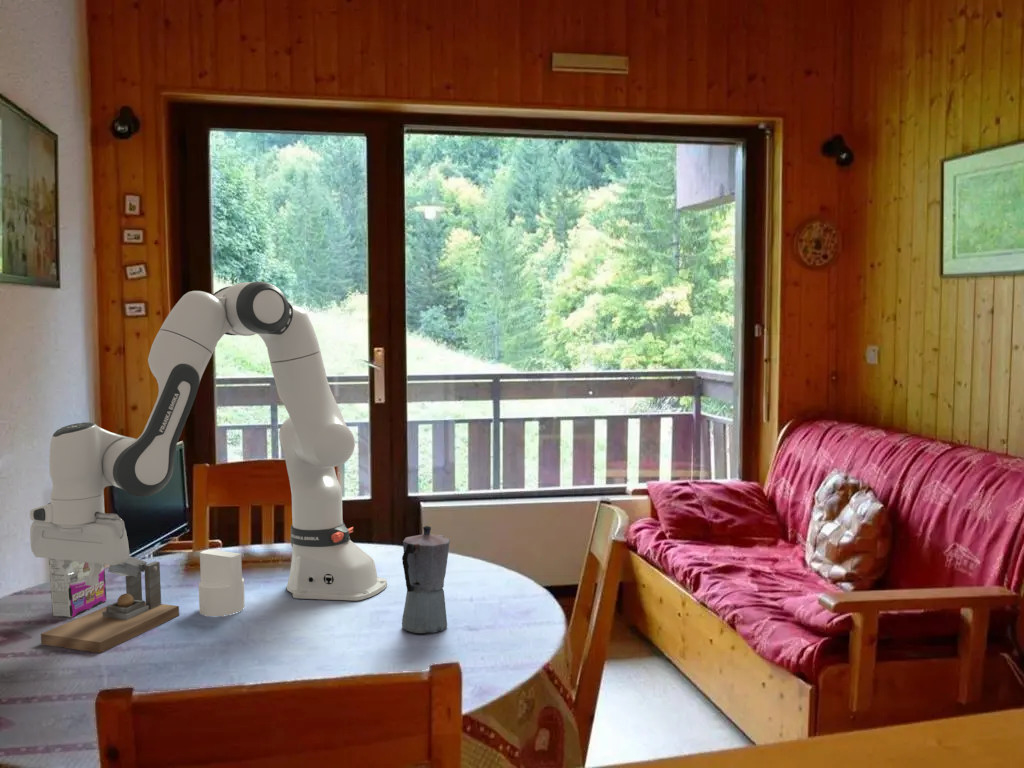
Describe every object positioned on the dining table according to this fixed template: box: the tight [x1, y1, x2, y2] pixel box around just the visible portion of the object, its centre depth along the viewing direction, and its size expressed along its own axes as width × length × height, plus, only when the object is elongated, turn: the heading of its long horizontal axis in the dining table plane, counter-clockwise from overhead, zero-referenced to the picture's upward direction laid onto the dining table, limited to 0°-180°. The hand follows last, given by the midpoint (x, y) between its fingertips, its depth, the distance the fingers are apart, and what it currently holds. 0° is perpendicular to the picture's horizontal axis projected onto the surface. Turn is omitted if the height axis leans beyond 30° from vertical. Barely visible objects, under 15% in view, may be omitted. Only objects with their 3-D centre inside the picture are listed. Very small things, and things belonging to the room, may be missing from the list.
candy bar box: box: [48, 558, 107, 618], centre depth 183 cm, size 11×5×16 cm, turn 168°
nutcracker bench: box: [40, 561, 180, 654], centre depth 171 cm, size 14×21×11 cm, turn 161°
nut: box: [116, 593, 134, 608], centre depth 174 cm, size 3×3×3 cm
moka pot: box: [401, 525, 451, 634], centre depth 170 cm, size 10×15×20 cm, turn 161°
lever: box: [107, 555, 148, 577], centre depth 170 cm, size 4×17×4 cm, turn 161°
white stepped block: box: [198, 548, 246, 617], centre depth 182 cm, size 9×9×12 cm
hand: (81, 583), depth 164 cm, fingers open, 3 cm apart
